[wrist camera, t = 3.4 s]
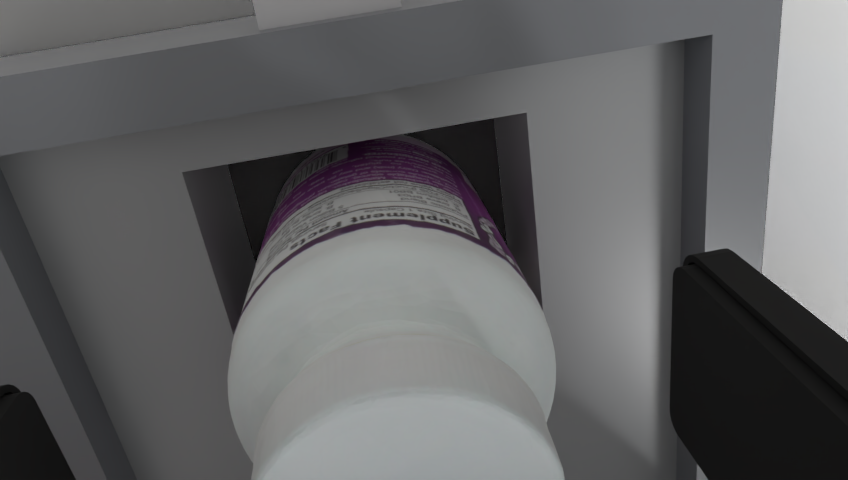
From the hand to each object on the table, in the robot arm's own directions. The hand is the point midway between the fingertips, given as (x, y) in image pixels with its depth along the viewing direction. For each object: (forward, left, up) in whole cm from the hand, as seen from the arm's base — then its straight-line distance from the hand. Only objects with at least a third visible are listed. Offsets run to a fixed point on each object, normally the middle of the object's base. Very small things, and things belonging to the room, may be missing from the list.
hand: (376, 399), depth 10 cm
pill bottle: (0, 0, -8) cm, 8 cm away
